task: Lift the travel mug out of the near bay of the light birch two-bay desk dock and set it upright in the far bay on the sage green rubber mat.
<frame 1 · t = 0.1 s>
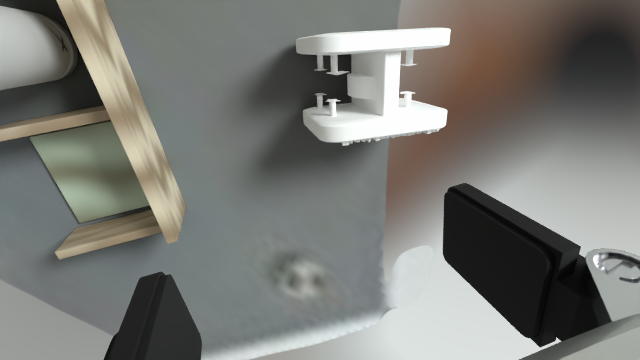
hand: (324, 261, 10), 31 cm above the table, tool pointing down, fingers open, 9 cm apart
cable organizer: (350, 79, 40), on the table
desk dock: (76, 115, 33), on the table
travel mug: (42, 46, 30), resting in desk dock
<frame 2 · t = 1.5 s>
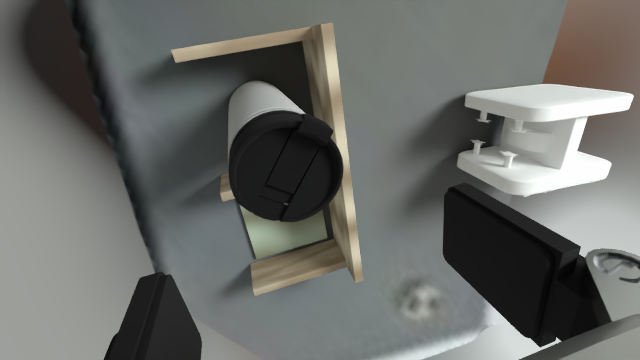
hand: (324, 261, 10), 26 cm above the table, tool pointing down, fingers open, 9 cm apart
cable organizer: (495, 124, 43), on the table
desk dock: (272, 166, 36), on the table
travel mug: (258, 108, 33), resting in desk dock
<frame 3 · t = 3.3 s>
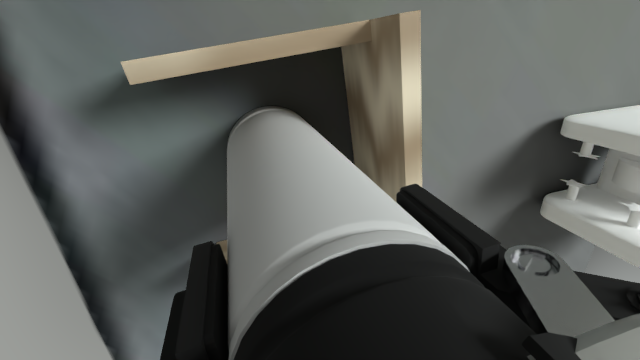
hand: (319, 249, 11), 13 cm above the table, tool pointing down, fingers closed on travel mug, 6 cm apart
cable organizer: (589, 155, 32), on the table
desk dock: (291, 226, 25), on the table
travel mug: (272, 146, 22), resting in desk dock, touching gripper
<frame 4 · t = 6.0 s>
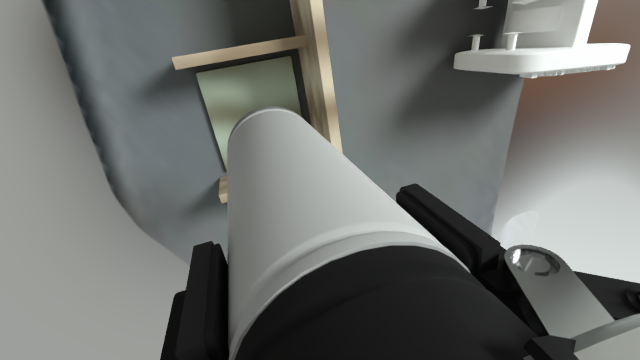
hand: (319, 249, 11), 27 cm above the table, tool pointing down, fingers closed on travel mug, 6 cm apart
cable organizer: (496, 24, 38), on the table
desk dock: (241, 51, 31), on the table
travel mug: (272, 146, 22), point 14 cm above the table, touching gripper
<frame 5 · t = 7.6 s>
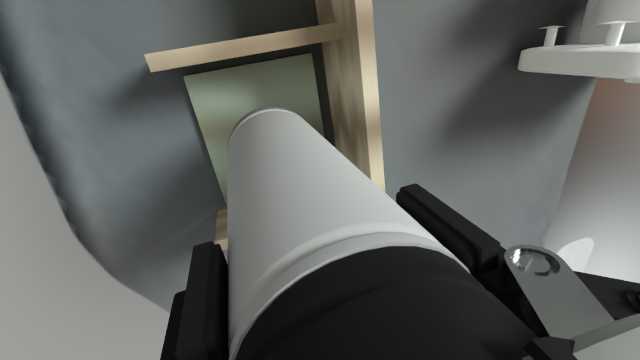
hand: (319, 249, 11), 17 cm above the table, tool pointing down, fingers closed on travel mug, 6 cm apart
cable organizer: (570, 13, 30), on the table
desk dock: (245, 46, 23), on the table
travel mug: (273, 146, 22), point 5 cm above the table, touching gripper
when the fingers open (14 cm above the table, at t = 8.7 s): travel mug drops 1 cm, resting on desk dock.
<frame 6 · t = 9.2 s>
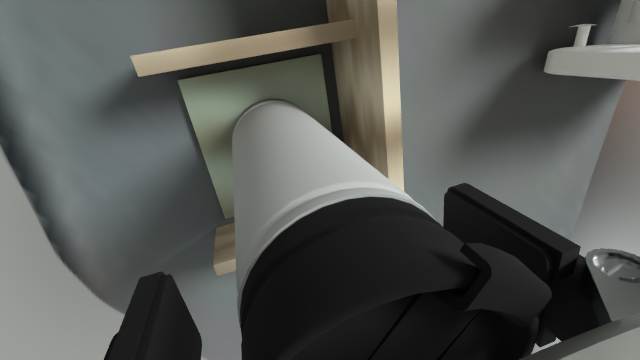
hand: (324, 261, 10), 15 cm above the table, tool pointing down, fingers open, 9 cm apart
cable organizer: (600, 10, 28), on the table
desk dock: (247, 47, 21), on the table
travel mug: (274, 136, 23), resting on desk dock
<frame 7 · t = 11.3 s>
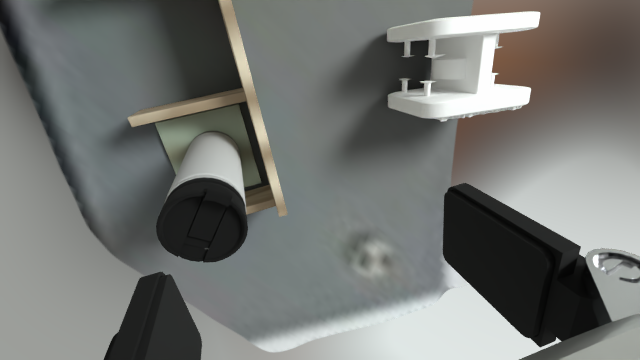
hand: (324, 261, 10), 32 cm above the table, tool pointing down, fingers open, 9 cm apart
cable organizer: (427, 65, 43), on the table
desk dock: (194, 102, 37), on the table
travel mug: (215, 152, 39), resting on desk dock
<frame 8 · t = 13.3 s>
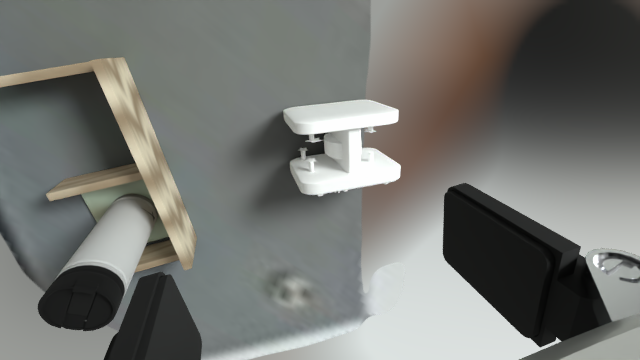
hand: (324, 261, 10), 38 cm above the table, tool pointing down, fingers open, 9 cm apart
cable organizer: (329, 133, 50), on the table
desk dock: (113, 171, 43), on the table
travel mug: (135, 210, 45), resting on desk dock
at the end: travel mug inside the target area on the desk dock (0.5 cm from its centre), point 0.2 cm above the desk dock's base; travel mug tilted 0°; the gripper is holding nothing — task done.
